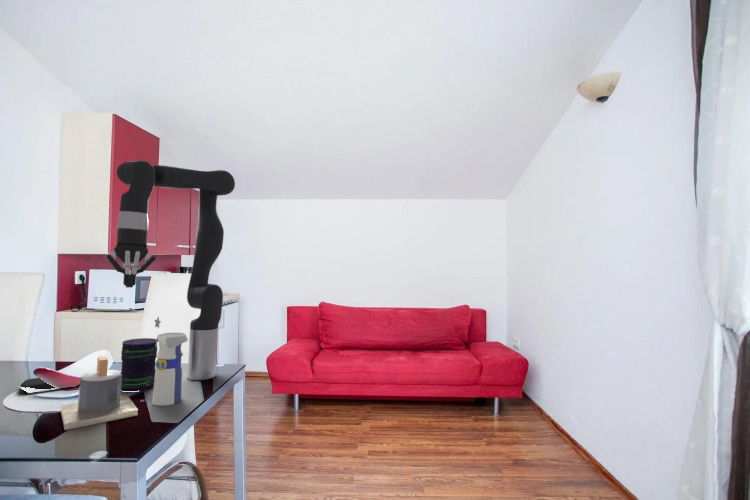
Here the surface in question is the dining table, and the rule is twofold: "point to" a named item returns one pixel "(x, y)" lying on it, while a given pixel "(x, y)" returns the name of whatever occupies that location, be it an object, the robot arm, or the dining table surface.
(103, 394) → the grey container on board
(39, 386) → the carrying case or bag
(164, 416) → the dining table surface
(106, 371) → the white lid with handle
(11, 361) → the dining table surface
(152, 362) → the storage jar
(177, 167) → the robot arm
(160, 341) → the white plastic tall bottle
